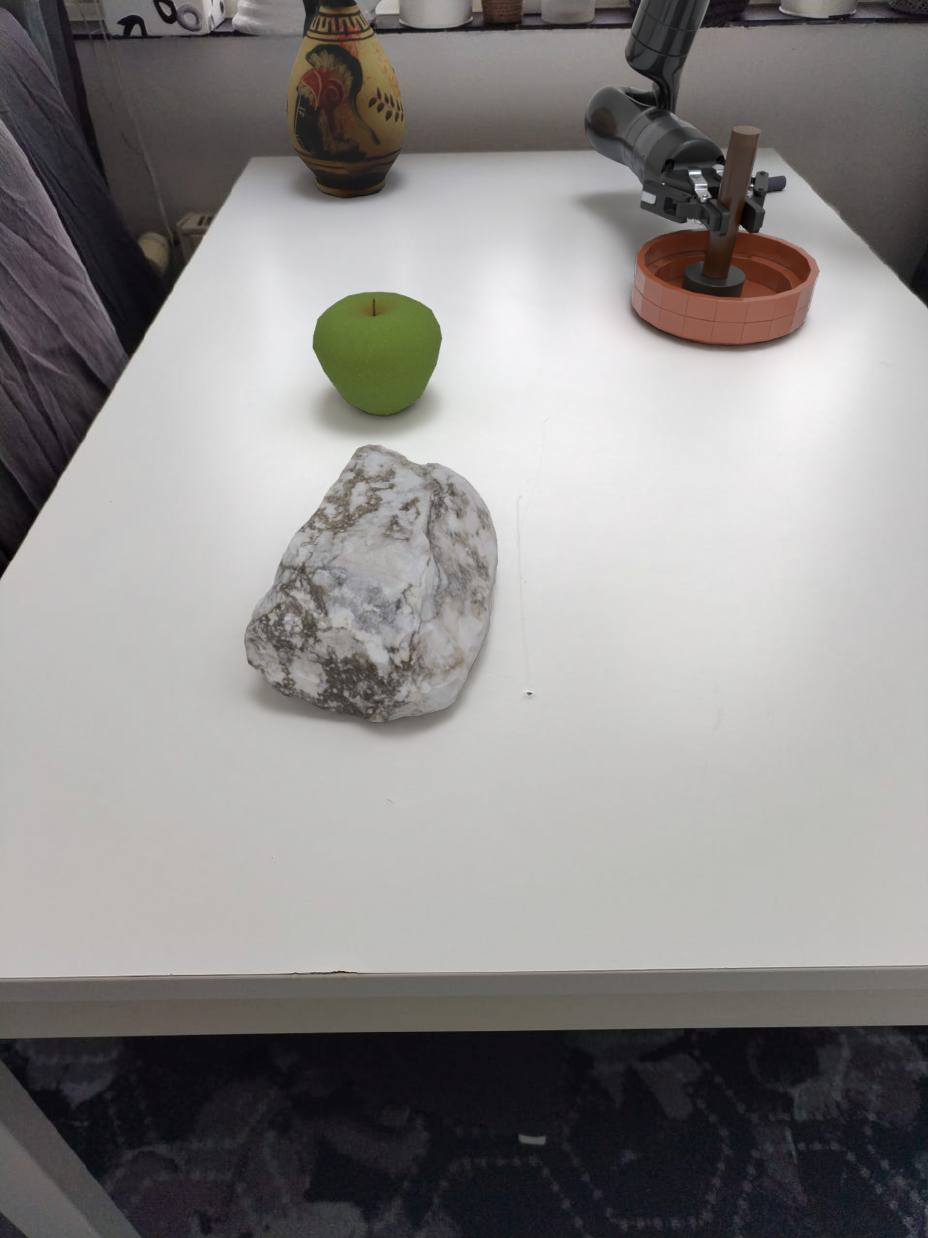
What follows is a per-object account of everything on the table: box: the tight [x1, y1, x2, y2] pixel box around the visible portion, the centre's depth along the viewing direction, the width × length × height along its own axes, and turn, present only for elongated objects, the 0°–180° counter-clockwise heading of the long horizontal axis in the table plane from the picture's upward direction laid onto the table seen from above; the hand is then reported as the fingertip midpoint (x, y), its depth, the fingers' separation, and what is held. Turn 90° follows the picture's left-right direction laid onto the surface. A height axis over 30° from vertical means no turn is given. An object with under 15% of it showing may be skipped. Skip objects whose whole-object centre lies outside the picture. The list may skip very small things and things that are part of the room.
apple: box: [312, 291, 443, 417], centre depth 74 cm, size 11×10×10 cm
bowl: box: [631, 227, 820, 346], centre depth 87 cm, size 18×18×5 cm
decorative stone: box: [243, 443, 499, 723], centre depth 55 cm, size 20×14×10 cm
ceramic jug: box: [285, 0, 406, 199], centre depth 107 cm, size 17×15×30 cm
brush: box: [681, 125, 762, 298], centre depth 83 cm, size 6×6×16 cm
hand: (741, 223), depth 80 cm, fingers closed on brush, 2 cm apart
